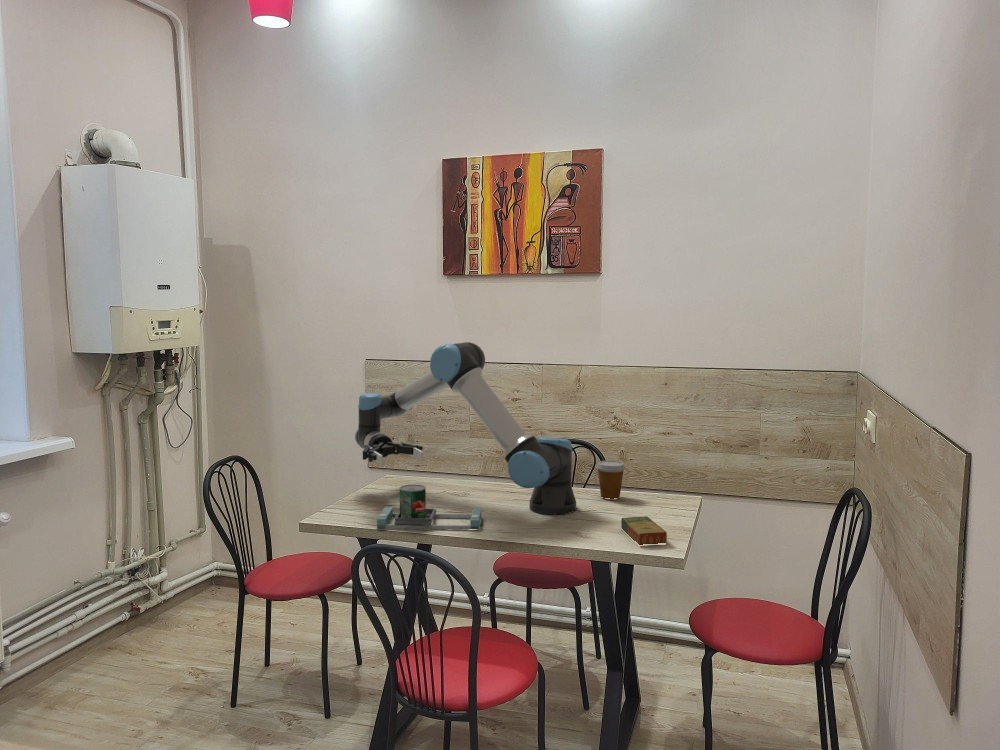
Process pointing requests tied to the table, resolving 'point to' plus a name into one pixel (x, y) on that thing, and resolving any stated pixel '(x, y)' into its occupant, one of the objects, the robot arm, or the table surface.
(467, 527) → the rail
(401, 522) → the carriage
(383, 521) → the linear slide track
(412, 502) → the canned tomato
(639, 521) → the carton
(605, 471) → the disposable coffee cup
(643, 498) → the table surface
